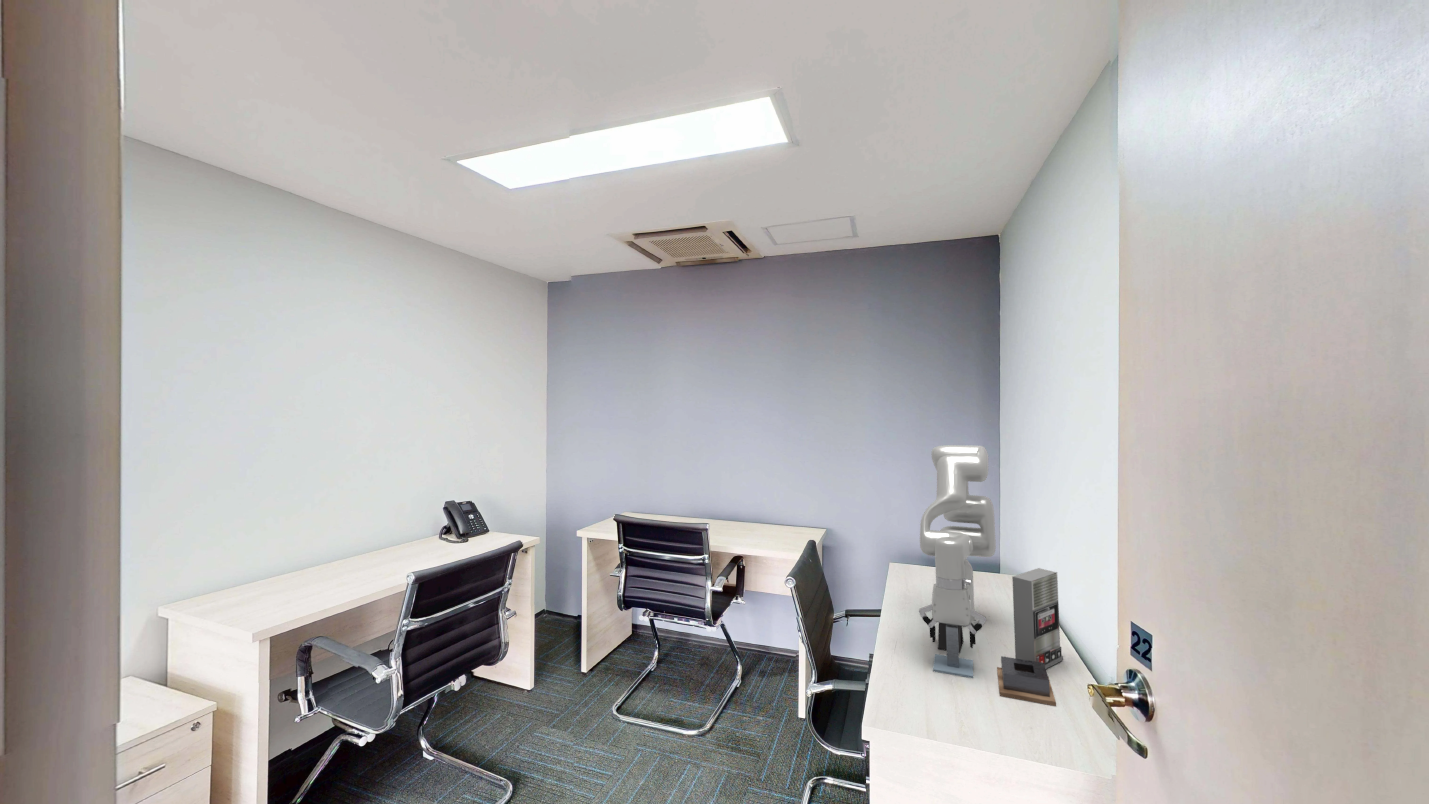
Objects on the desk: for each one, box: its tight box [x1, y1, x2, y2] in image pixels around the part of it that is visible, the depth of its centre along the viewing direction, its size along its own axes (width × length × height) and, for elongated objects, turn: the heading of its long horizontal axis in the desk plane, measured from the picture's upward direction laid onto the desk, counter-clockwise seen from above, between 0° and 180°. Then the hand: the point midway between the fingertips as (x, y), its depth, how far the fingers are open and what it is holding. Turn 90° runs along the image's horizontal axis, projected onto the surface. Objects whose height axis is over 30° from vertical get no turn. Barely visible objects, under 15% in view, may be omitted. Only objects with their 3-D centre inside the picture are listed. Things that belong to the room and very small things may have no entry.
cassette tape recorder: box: [1011, 567, 1064, 669], centre depth 150 cm, size 14×6×25 cm, turn 121°
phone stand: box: [937, 622, 964, 654], centre depth 162 cm, size 9×6×12 cm, turn 147°
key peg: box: [946, 624, 960, 668], centre depth 149 cm, size 3×3×11 cm
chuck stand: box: [996, 666, 1057, 707], centre depth 137 cm, size 14×12×1 cm
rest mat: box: [932, 653, 974, 679], centre depth 149 cm, size 10×10×1 cm
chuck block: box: [1000, 655, 1050, 697], centre depth 137 cm, size 10×10×4 cm
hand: (952, 643), depth 149 cm, fingers open, 9 cm apart
